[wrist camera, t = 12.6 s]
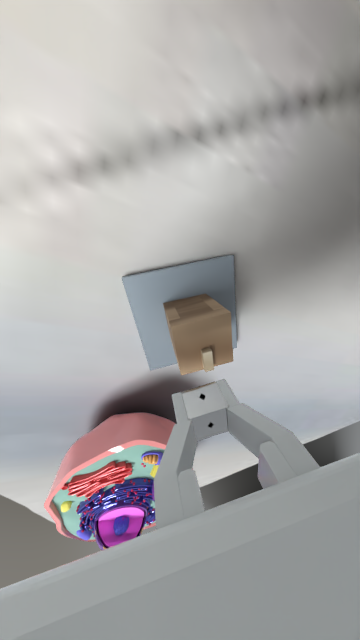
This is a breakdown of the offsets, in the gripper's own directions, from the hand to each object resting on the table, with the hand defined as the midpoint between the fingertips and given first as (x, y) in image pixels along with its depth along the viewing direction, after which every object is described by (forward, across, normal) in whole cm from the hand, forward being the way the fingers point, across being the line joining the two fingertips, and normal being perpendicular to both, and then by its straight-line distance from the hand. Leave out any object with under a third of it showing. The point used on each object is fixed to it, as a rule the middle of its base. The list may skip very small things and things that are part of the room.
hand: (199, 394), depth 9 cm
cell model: (+12, +10, +19) cm, 25 cm away
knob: (+11, -2, +1) cm, 12 cm away
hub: (+13, -2, +1) cm, 13 cm away
